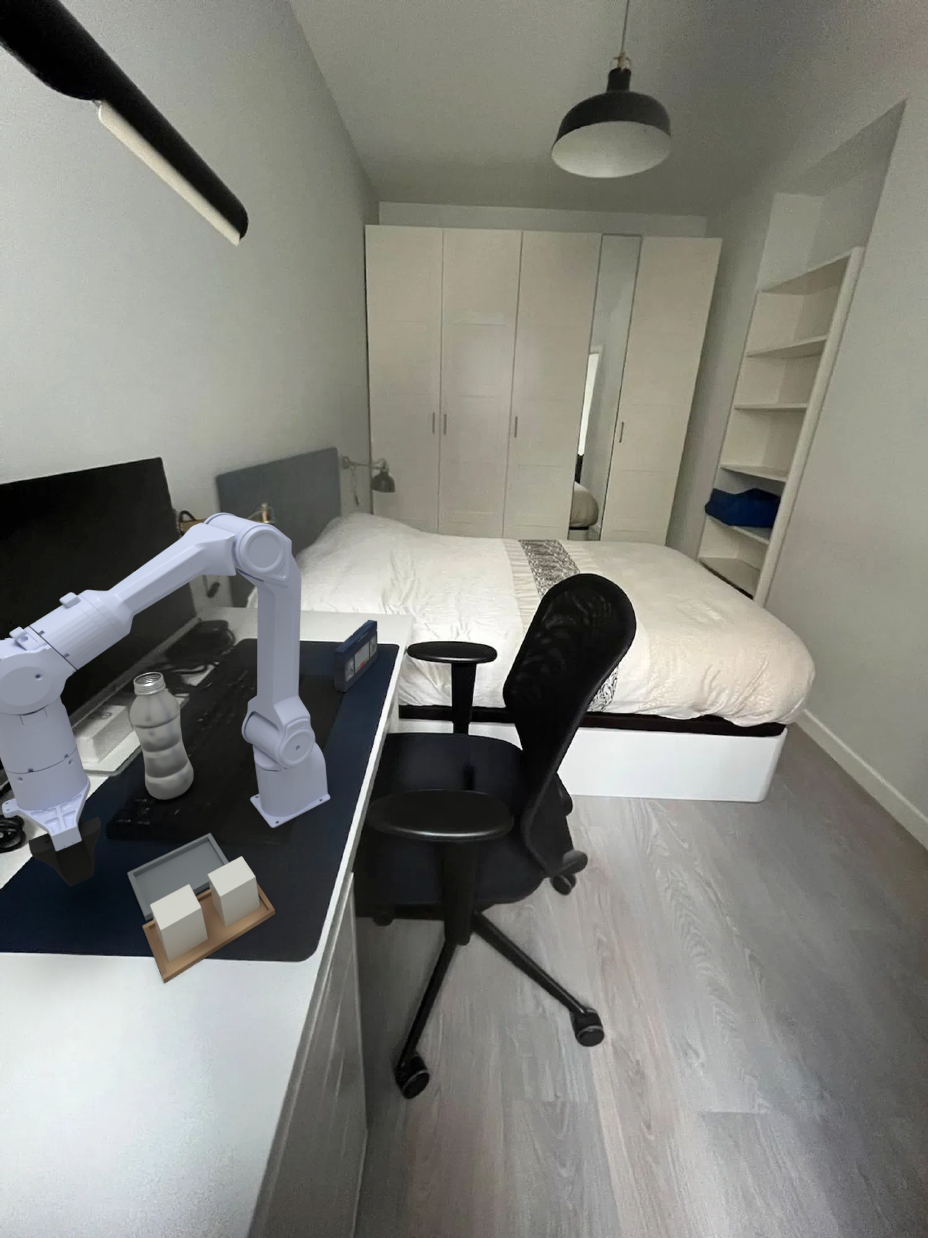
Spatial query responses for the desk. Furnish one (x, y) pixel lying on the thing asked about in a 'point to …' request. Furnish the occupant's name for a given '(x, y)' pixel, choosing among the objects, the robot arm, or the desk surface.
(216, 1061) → the desk surface
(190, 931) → the white block
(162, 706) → the plastic bottle
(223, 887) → the stone
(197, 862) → the charcoal tray
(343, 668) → the vhs cassette tape
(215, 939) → the walnut tray
